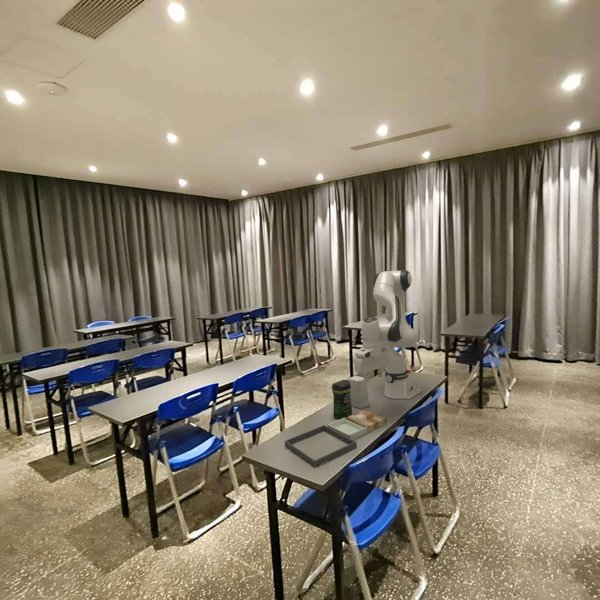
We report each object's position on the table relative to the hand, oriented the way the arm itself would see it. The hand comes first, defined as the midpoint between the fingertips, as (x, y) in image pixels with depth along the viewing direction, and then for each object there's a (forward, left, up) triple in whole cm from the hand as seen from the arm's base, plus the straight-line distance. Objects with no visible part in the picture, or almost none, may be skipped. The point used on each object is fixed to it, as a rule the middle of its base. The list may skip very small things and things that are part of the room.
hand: (373, 378), depth 177 cm
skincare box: (-5, -17, -21) cm, 28 cm away
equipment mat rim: (+37, +3, -21) cm, 43 cm away
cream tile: (+11, +1, -18) cm, 21 cm away
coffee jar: (+10, -13, -21) cm, 27 cm away
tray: (+20, +1, -21) cm, 28 cm away
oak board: (+7, +1, -21) cm, 22 cm away
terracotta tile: (+6, +1, -18) cm, 19 cm away
